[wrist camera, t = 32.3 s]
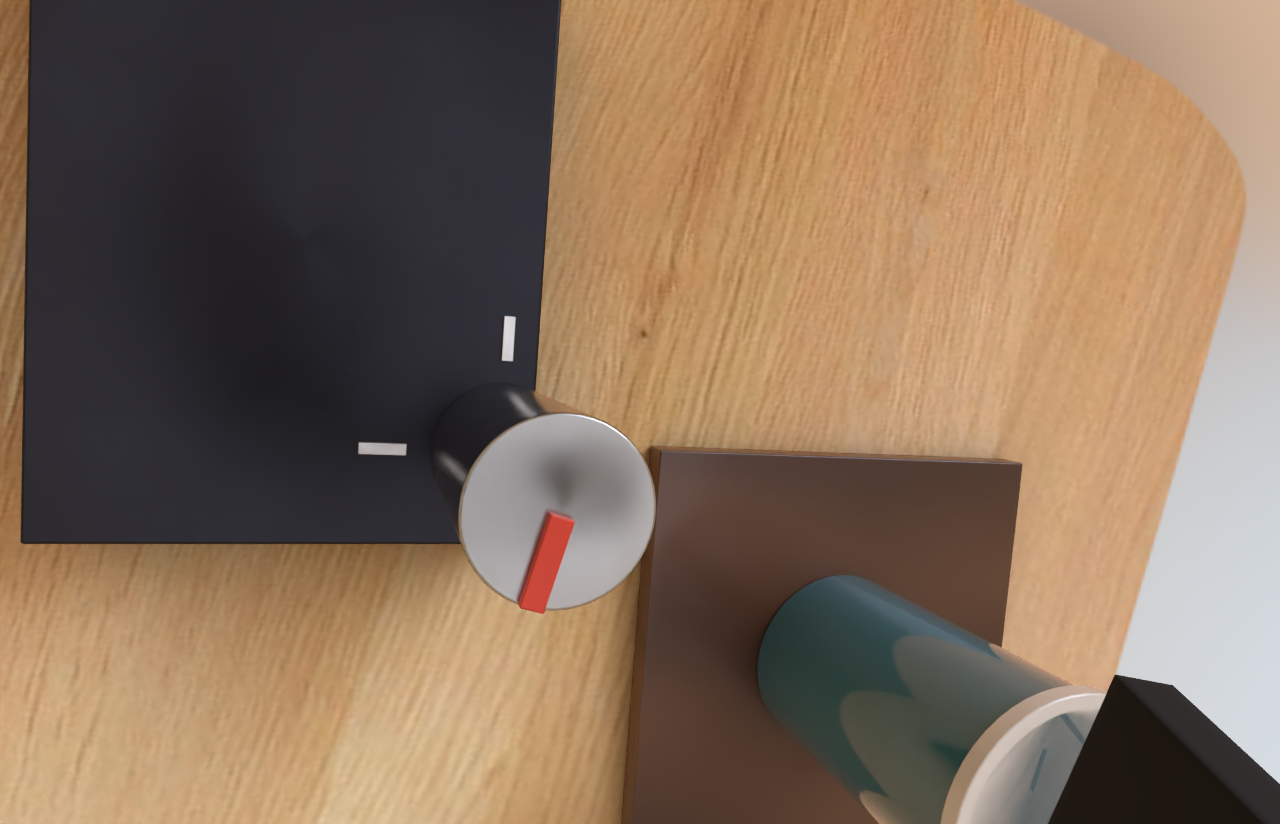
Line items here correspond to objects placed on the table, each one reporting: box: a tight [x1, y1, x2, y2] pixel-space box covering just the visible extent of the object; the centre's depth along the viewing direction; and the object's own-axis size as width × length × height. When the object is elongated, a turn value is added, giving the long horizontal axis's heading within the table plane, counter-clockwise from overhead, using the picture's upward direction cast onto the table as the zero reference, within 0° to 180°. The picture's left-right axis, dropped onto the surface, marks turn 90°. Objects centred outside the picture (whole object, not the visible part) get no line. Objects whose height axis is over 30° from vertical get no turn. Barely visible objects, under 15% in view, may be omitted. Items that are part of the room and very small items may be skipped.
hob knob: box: [430, 383, 656, 614], centre depth 23 cm, size 4×4×9 cm
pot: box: [757, 575, 1107, 824], centre depth 28 cm, size 7×7×12 cm
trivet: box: [621, 446, 1022, 824], centre depth 34 cm, size 16×16×1 cm
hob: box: [21, 0, 561, 544], centre depth 27 cm, size 19×17×3 cm
